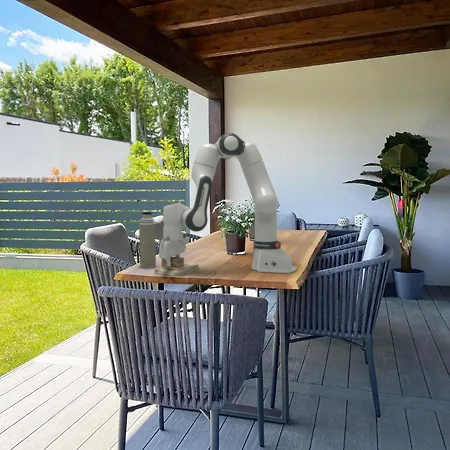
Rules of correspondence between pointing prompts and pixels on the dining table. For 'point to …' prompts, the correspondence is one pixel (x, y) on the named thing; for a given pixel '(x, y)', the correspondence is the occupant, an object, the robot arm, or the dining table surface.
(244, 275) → the dining table surface
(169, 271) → the board
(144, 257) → the thermos bottle
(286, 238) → the dining table surface
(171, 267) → the block
